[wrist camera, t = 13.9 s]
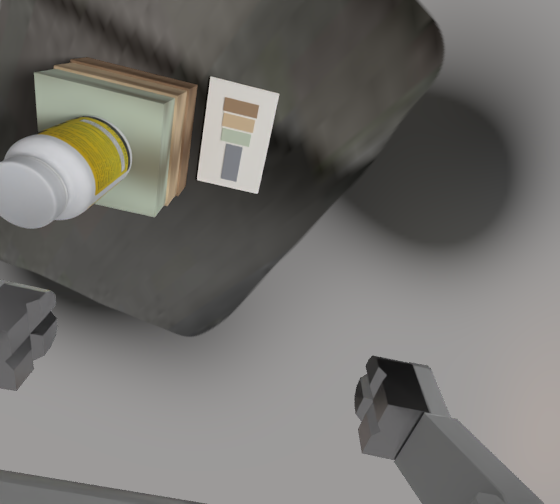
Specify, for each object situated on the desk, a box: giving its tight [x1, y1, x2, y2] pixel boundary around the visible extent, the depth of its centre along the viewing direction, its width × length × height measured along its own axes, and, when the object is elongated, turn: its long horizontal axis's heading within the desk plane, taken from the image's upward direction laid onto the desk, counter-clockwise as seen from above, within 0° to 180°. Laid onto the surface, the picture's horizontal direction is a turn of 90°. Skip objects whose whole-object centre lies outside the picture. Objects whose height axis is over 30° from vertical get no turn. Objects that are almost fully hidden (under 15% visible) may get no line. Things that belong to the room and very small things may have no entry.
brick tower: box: [34, 57, 197, 217], centre depth 34 cm, size 10×10×9 cm
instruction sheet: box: [197, 76, 279, 194], centre depth 38 cm, size 10×6×1 cm, turn 167°
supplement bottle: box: [0, 115, 132, 229], centre depth 26 cm, size 5×5×10 cm
